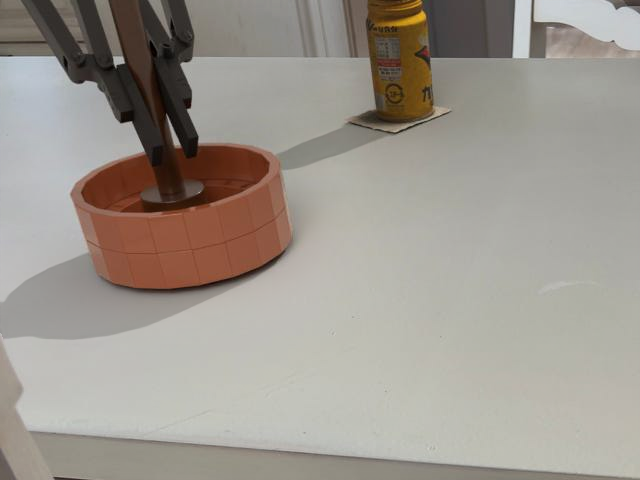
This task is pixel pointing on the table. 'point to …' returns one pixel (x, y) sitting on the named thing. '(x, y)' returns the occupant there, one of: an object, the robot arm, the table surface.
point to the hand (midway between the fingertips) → (175, 151)
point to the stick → (153, 114)
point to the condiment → (398, 66)
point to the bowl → (185, 218)
